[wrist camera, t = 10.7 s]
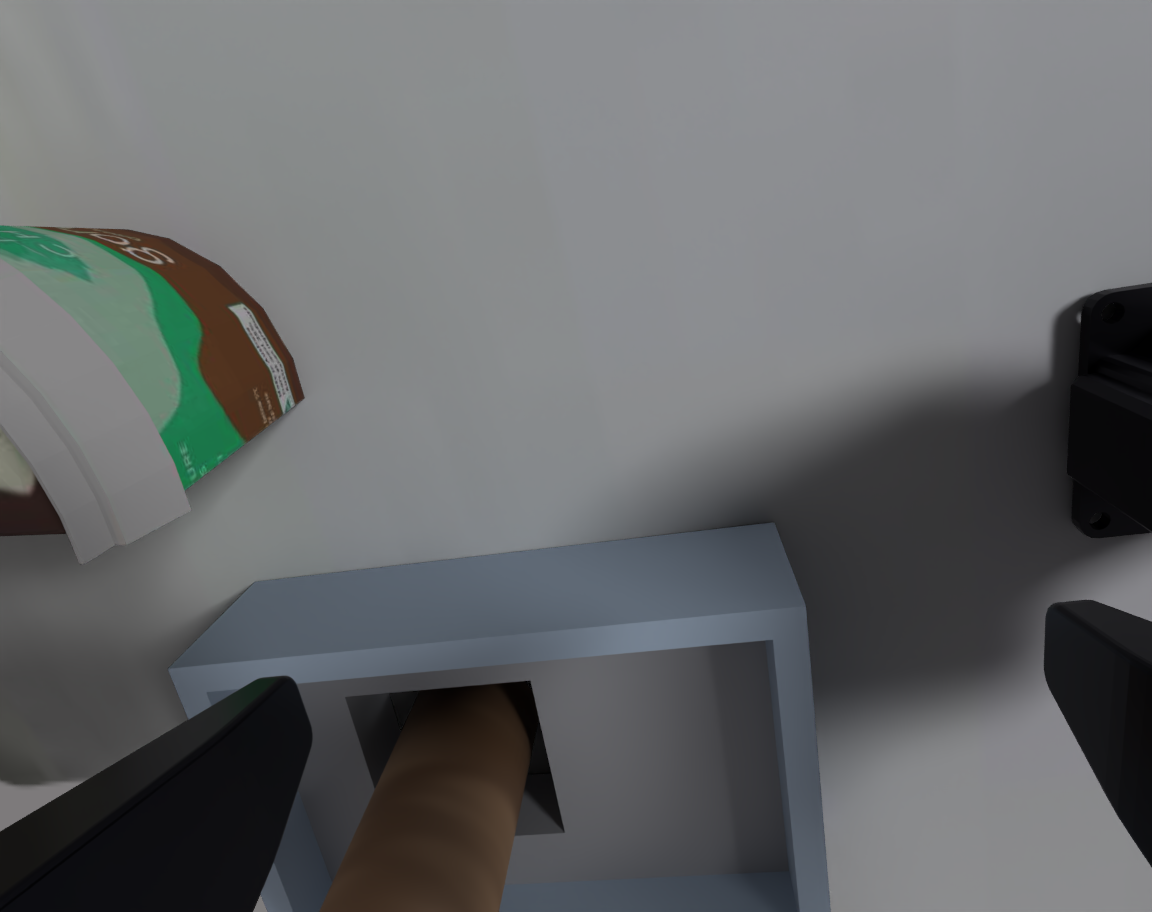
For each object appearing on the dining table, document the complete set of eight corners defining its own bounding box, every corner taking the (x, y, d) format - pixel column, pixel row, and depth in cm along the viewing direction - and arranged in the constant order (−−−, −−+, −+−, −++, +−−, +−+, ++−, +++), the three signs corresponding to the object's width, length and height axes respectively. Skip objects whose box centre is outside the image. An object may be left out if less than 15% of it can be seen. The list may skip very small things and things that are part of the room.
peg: (526, 653, 23) (456, 917, 15) (548, 755, 24) (496, 1052, 16) (405, 664, 24) (271, 925, 15) (433, 763, 25) (325, 1055, 17)
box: (774, 522, 21) (805, 605, 17) (802, 822, 24) (833, 954, 20) (254, 581, 23) (167, 668, 19) (348, 848, 27) (292, 972, 22)
